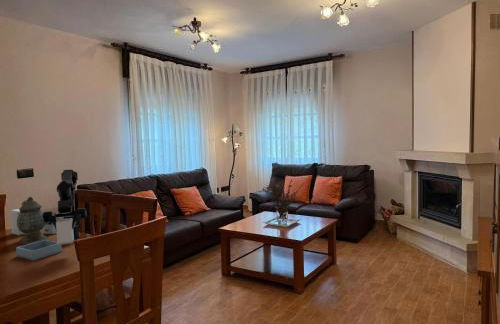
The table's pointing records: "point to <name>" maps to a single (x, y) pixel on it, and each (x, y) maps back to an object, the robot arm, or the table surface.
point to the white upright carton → (64, 231)
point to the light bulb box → (50, 227)
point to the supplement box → (15, 222)
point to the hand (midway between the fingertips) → (64, 229)
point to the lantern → (31, 222)
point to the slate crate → (38, 250)
